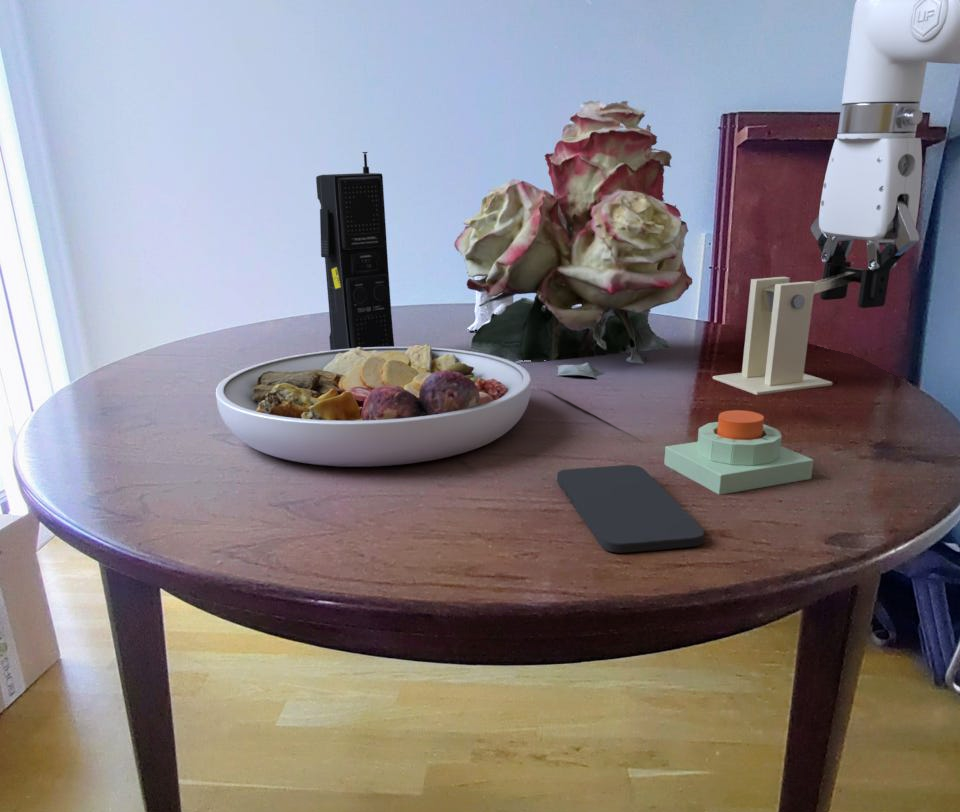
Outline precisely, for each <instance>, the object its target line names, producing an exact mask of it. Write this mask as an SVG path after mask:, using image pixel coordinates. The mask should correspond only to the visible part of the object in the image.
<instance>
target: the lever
mask: <svg viewBox="0 0 960 812" xmlns="http://www.w3.org/2000/svg"><path fill="white" fill-rule="evenodd" d="M863 269H864V268H856V267H845V266H839V267H838V268H837V269H836V271H835V276H832V277H828V278H825V279H823V278H822V279H818V280H815V281H814V282H815V288H814V295H816V294H819V293H821V292H823V291H826V290H829V289H832V288H836V287H839V286H842V285H845V284H848V285H849V284H852V283H858V284H861V279H862V273H863ZM781 284H782V283H781ZM774 290H775V286H771V287H768V288H765V289H763V296H764V311H768V312H772V308H773V299H774Z"/></svg>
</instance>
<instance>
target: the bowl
mask: <svg viewBox="0 0 960 812" xmlns="http://www.w3.org/2000/svg"><path fill="white" fill-rule="evenodd" d="M531 391H532V377H531V374H530V373H529V371H528V370H527V369H525V368H524V367H523V366H522V365H521V364H516V363H514V362H512V361H509V360H506V359H503V358H500V357H496V356H493V355H488V354H483V353H478V352H472V351H470V350H465V349H464V350H463V349H457V348H456V349H455V348H444V347H431V346H430V345H429V344H426V343H425V344H424V345H420V344H414V345H410V346H394V347H366V348H362V347H357V348H350V349H339V350H330V349H329V350H321V351H314V352H307V353H302V354H295V355H290V356H285V357H280V358H275V359H271V360H268V361H267V360H266V361H264V362H260V363H256V364H253V365H251V366H248V367H245V368H243V369H240V370H237V371H235V372H234V373H232V374H230V375H228V376H227V377H225V378H224V379H222V380H221V381H220V382H219V383H218V384H217V386H216V389H215V397H216V398H215V399H216V405H217V409H218V412H219V415H220V418H221V419H222V422H223V423H224V424H225V426H226V427H227V429H228V430H229V431H230V432H231V433H232V434H233V435H234V436H235V437H236V438H237V439H239V441H241V442H243V444H245V445H247V446H249V447H250V448H252V449H255V450H256V451H259V452H261V453H264V454H266V455H269V456H271V457H274V458H277V459H282V460H286V461H291V462H296V463H302V464H309V465H316V466H328V467H347V468H349V467H350V468H354V467H355V468H356V467H357V468H360V467H361V468H363V467H365V468H367V467H368V468H369V467H387V466H398V465H399V466H400V465H410V464H417V463H424V462H430V461H436V460H440V459H445V458H449V457H453V456H457V455H460V454H464V453H467V452H470V451H473V450H476V449H479V448H481V447H484V446H486V445H488V444H490V443H491V442H494V441H496V440H497V439H499V438H501V437H502V436H503V435H505V434H507V433H508V432H509V431H510V430H511V429H512V428H513V427H514V426H515V425H517V423H518V422H519V421H520V420H521V418H522V417H523V415H524V414H525V412H526V410H527V408H528V405H529V401H530V399H531Z"/></svg>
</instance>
